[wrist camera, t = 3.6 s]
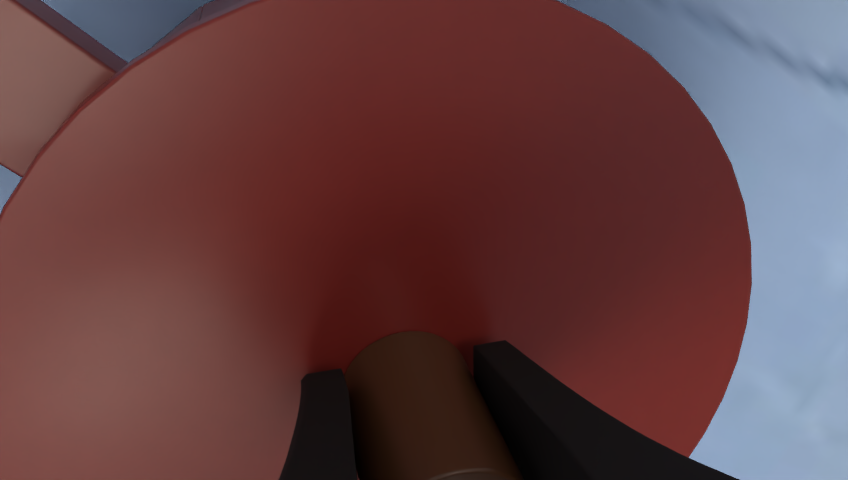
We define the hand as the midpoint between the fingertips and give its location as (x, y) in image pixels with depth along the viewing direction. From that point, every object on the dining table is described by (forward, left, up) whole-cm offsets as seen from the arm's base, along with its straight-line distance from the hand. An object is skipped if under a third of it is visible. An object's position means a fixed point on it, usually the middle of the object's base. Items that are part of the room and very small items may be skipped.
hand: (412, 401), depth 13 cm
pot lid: (0, 0, -1) cm, 1 cm away
